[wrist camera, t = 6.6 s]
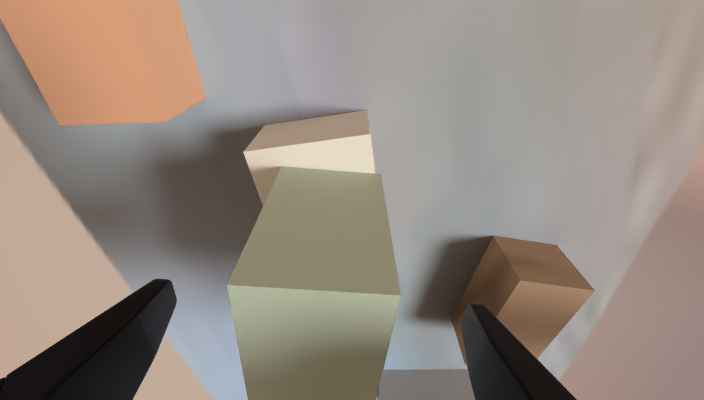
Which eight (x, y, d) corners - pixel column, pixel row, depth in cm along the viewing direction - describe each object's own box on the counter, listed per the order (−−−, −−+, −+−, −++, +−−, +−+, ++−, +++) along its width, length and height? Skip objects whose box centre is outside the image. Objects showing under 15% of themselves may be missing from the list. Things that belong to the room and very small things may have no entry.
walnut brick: (502, 320, 18) (525, 371, 16) (449, 313, 18) (465, 364, 15) (554, 242, 15) (594, 290, 12) (491, 233, 15) (519, 280, 12)
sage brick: (362, 299, 13) (366, 438, 9) (287, 295, 13) (254, 433, 9) (380, 174, 10) (400, 295, 6) (281, 166, 10) (227, 284, 6)
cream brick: (386, 261, 16) (392, 308, 13) (311, 269, 16) (302, 316, 14) (367, 107, 12) (369, 134, 9) (266, 122, 12) (243, 152, 10)
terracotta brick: (207, 97, 12) (165, 122, 9) (124, 100, 12) (59, 125, 9) (144, -129, 8) (52, -188, 6) (31, -121, 9) (-108, -177, 6)
